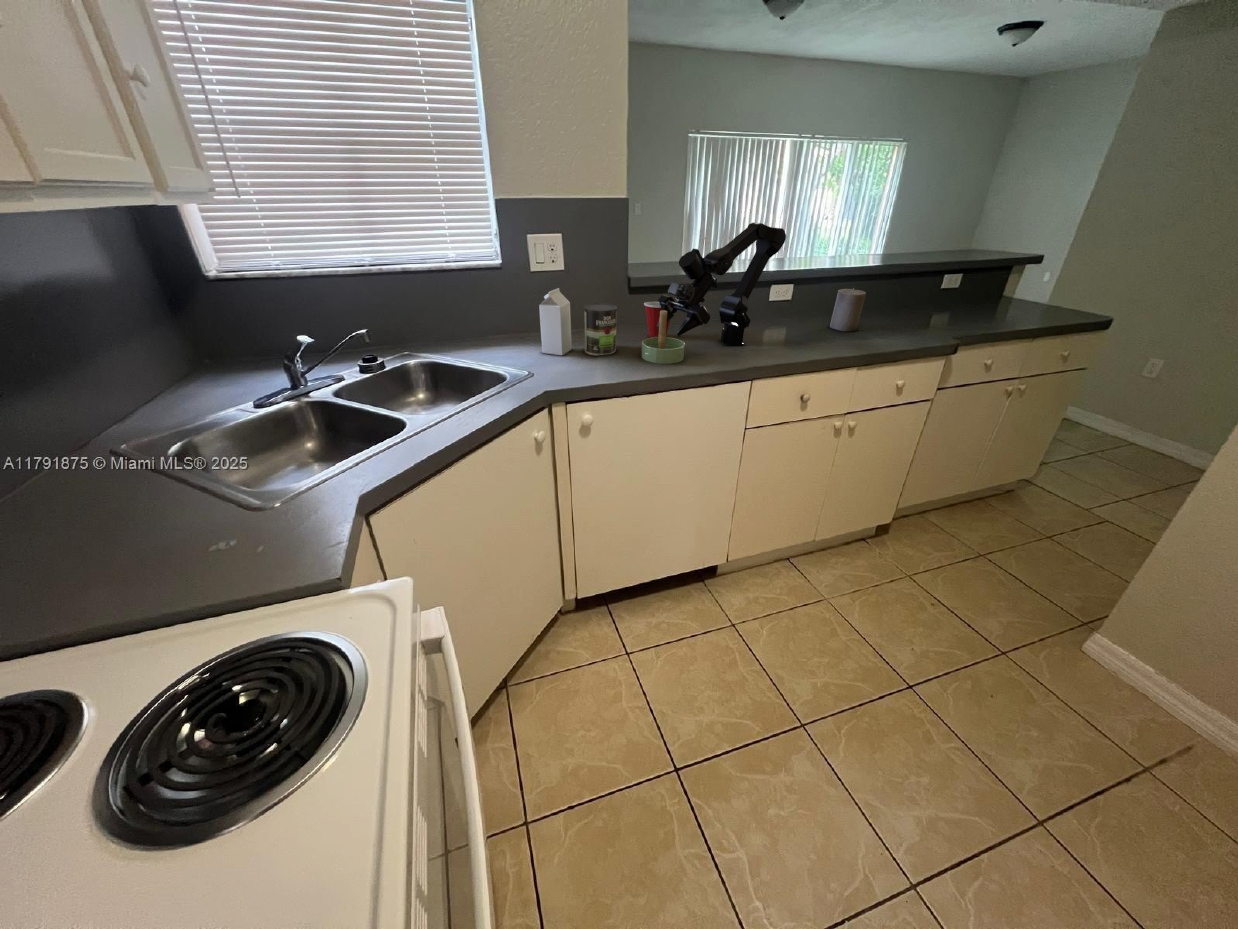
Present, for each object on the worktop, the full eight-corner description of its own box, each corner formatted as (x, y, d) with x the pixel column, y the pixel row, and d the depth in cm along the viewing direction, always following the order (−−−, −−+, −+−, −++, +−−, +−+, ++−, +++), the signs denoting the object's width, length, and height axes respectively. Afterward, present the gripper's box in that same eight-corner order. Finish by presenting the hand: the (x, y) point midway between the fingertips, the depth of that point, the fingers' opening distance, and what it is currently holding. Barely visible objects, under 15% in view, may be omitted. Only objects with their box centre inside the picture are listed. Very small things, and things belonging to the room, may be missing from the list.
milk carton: (571, 349, 158) (569, 288, 148) (562, 356, 152) (559, 293, 142) (551, 347, 160) (548, 286, 150) (542, 353, 154) (538, 291, 144)
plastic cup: (672, 334, 176) (675, 299, 170) (672, 342, 167) (675, 306, 161) (643, 332, 177) (644, 298, 171) (641, 341, 167) (642, 305, 161)
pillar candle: (853, 326, 190) (864, 286, 183) (858, 332, 182) (869, 291, 174) (827, 324, 192) (837, 284, 184) (831, 330, 184) (841, 289, 176)
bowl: (679, 351, 158) (680, 336, 155) (687, 365, 147) (688, 349, 144) (638, 352, 157) (639, 336, 154) (644, 366, 146) (644, 349, 143)
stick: (668, 354, 154) (671, 309, 146) (669, 359, 149) (672, 313, 142) (652, 354, 154) (654, 309, 146) (653, 359, 149) (655, 313, 142)
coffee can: (621, 353, 155) (622, 308, 148) (592, 358, 151) (592, 311, 144) (607, 344, 163) (608, 301, 156) (579, 348, 159) (578, 304, 152)
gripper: (664, 267, 149) (634, 308, 149) (707, 276, 136) (675, 322, 136) (681, 291, 157) (653, 330, 157) (723, 302, 144) (693, 344, 144)
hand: (667, 331), depth 148 cm, fingers open, 9 cm apart
